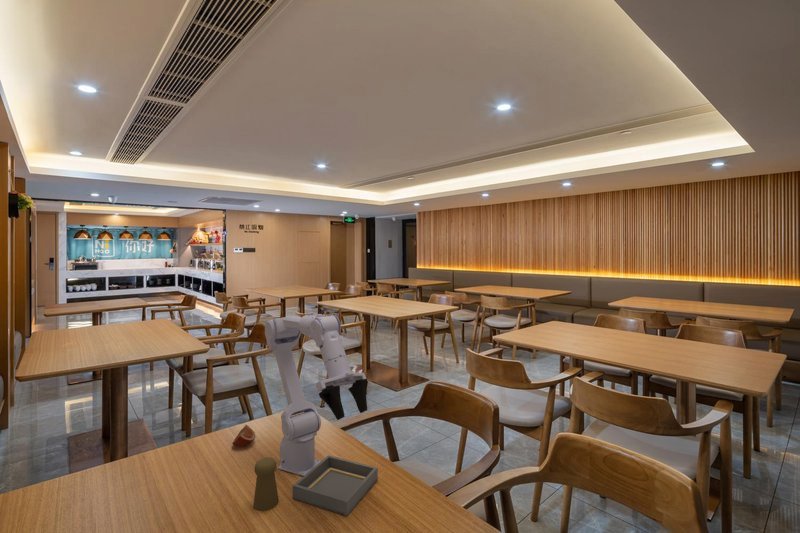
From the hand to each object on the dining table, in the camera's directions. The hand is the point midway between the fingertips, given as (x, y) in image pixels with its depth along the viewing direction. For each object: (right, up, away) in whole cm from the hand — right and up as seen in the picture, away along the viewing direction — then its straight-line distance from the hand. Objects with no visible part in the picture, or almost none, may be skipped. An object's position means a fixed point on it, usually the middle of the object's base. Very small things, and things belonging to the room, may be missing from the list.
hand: (352, 414), depth 95 cm
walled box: (-5, -24, +11) cm, 26 cm away
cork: (-22, -24, +5) cm, 33 cm away
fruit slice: (-39, -22, +34) cm, 56 cm away
